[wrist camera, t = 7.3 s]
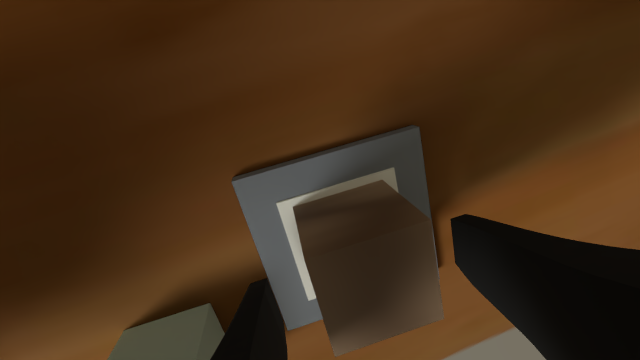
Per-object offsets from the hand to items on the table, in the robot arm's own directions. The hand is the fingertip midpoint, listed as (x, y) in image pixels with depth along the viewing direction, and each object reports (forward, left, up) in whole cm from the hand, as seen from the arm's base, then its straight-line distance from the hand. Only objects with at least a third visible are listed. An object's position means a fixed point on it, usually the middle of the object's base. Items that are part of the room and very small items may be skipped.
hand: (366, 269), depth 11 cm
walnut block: (0, 0, -2) cm, 3 cm away
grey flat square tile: (0, 0, -3) cm, 3 cm away
